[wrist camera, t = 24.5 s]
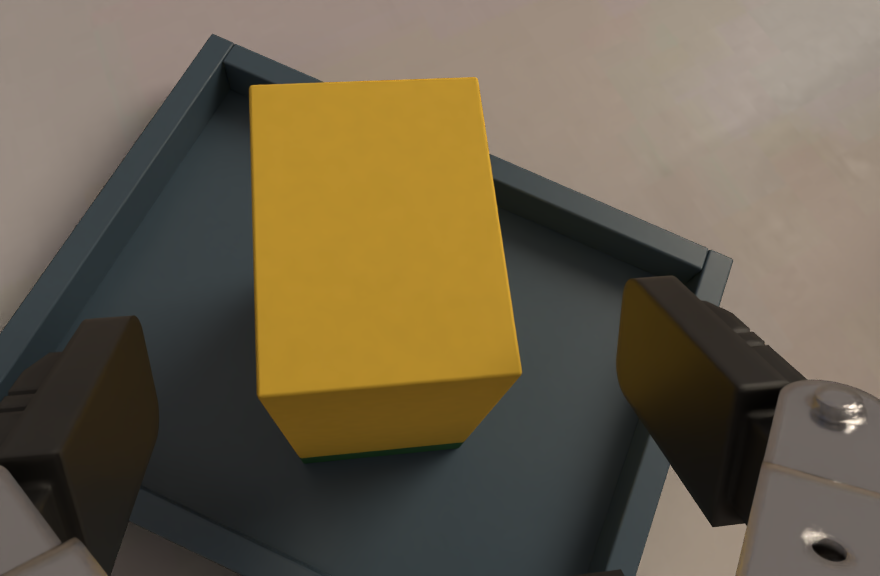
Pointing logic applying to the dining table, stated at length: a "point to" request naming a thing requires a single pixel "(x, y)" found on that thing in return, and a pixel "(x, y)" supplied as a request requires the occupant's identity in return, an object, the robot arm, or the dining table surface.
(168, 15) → the dining table surface
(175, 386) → the tray
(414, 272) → the sponge
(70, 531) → the robot arm
